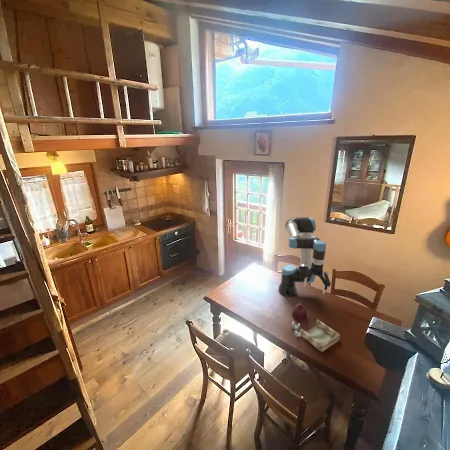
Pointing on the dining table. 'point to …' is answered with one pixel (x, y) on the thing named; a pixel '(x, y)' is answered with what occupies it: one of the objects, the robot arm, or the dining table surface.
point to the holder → (321, 336)
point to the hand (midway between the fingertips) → (314, 289)
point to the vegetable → (299, 313)
